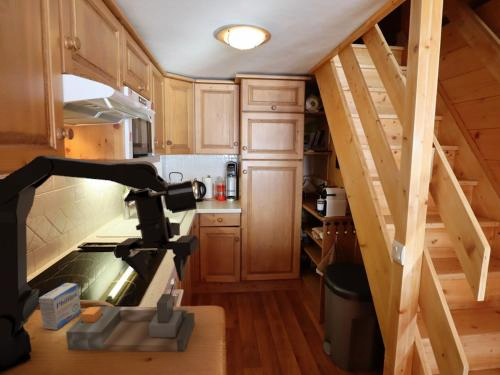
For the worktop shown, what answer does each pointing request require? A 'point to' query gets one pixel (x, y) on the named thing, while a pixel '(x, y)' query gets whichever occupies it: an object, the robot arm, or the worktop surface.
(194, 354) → the worktop surface
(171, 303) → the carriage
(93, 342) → the rail
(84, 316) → the button
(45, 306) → the medicine box
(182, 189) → the robot arm
